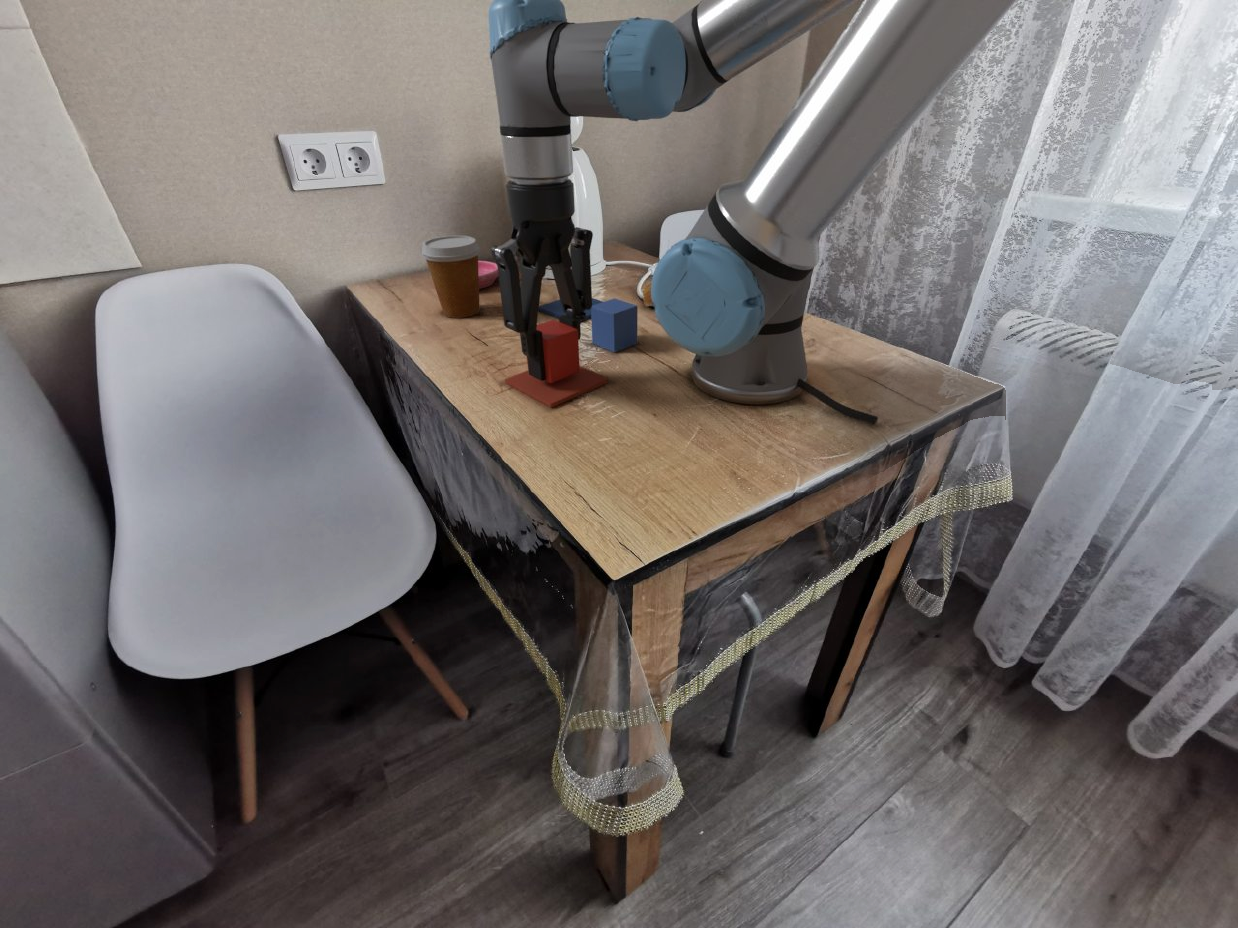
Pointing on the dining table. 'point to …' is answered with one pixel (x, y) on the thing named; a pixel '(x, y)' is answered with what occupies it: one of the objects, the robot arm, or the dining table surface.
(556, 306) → the blue mat
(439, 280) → the disposable coffee cup
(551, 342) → the red block
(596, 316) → the blue block
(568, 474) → the dining table surface
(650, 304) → the pastry
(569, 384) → the red mat
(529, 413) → the dining table surface
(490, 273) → the pink bowl
